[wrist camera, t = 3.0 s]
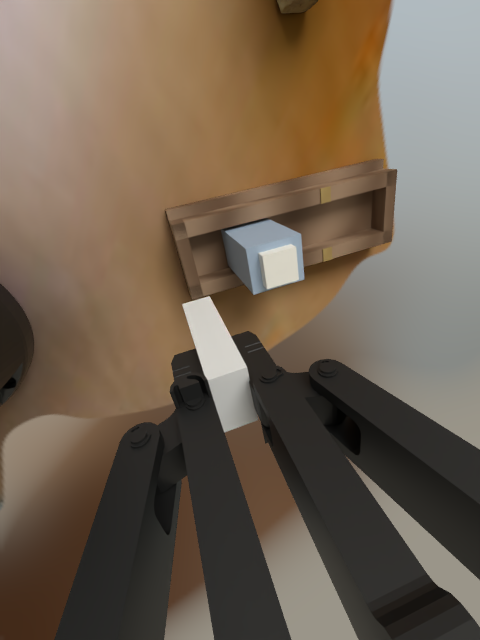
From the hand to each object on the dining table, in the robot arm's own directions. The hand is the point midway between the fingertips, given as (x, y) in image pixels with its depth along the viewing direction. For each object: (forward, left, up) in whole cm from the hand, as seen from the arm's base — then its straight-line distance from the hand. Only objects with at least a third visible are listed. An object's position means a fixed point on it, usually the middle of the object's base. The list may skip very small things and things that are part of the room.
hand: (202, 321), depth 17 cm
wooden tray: (+10, 0, -13) cm, 16 cm away
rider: (+6, 0, -11) cm, 13 cm away
